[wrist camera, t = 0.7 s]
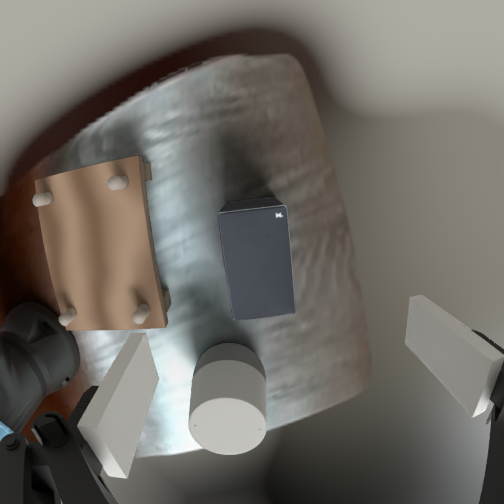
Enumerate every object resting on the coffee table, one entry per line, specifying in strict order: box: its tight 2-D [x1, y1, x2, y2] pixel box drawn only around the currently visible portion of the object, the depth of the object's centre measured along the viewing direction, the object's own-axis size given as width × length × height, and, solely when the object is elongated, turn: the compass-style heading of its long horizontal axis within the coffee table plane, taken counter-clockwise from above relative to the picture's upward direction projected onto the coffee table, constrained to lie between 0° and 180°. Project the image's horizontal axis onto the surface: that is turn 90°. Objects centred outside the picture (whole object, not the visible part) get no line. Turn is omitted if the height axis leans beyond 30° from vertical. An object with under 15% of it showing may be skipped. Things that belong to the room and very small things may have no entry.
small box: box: [218, 196, 296, 320], centre depth 33 cm, size 11×6×10 cm, turn 7°
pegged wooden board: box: [33, 156, 171, 330], centre depth 33 cm, size 14×19×8 cm
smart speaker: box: [189, 343, 267, 455], centre depth 35 cm, size 10×9×14 cm
